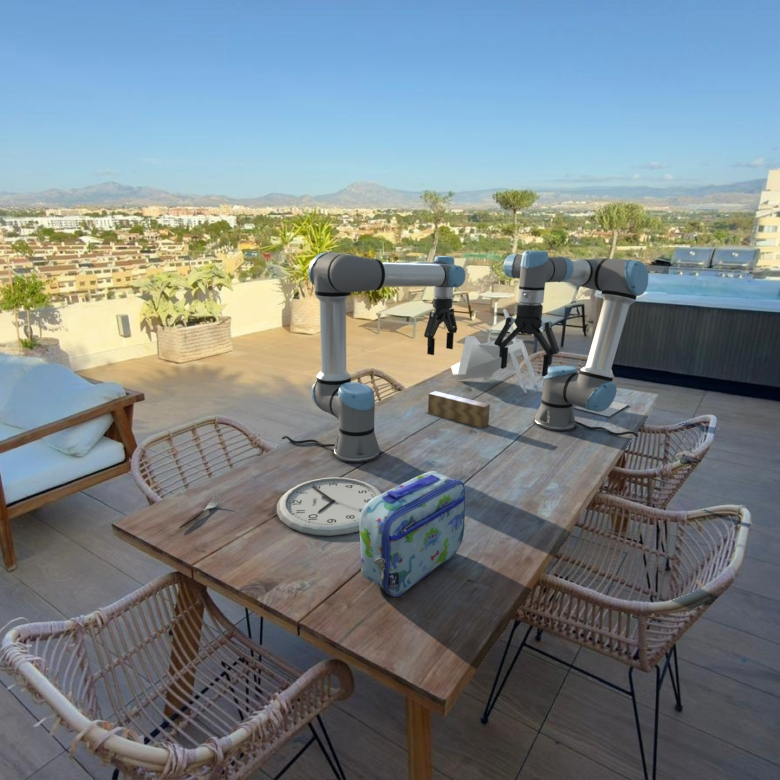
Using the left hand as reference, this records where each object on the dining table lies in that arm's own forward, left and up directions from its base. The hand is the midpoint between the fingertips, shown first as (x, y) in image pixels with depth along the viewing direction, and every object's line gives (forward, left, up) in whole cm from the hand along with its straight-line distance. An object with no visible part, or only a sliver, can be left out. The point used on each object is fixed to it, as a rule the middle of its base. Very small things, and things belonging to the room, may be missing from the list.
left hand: (440, 351), depth 207 cm
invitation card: (+56, +47, -26) cm, 77 cm away
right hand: (+41, -26, +4) cm, 49 cm away
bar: (+9, -1, -26) cm, 28 cm away
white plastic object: (+5, +47, -26) cm, 54 cm away
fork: (-18, -105, -26) cm, 110 cm away
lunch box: (+40, -96, -26) cm, 107 cm away
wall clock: (+8, -83, -26) cm, 87 cm away
